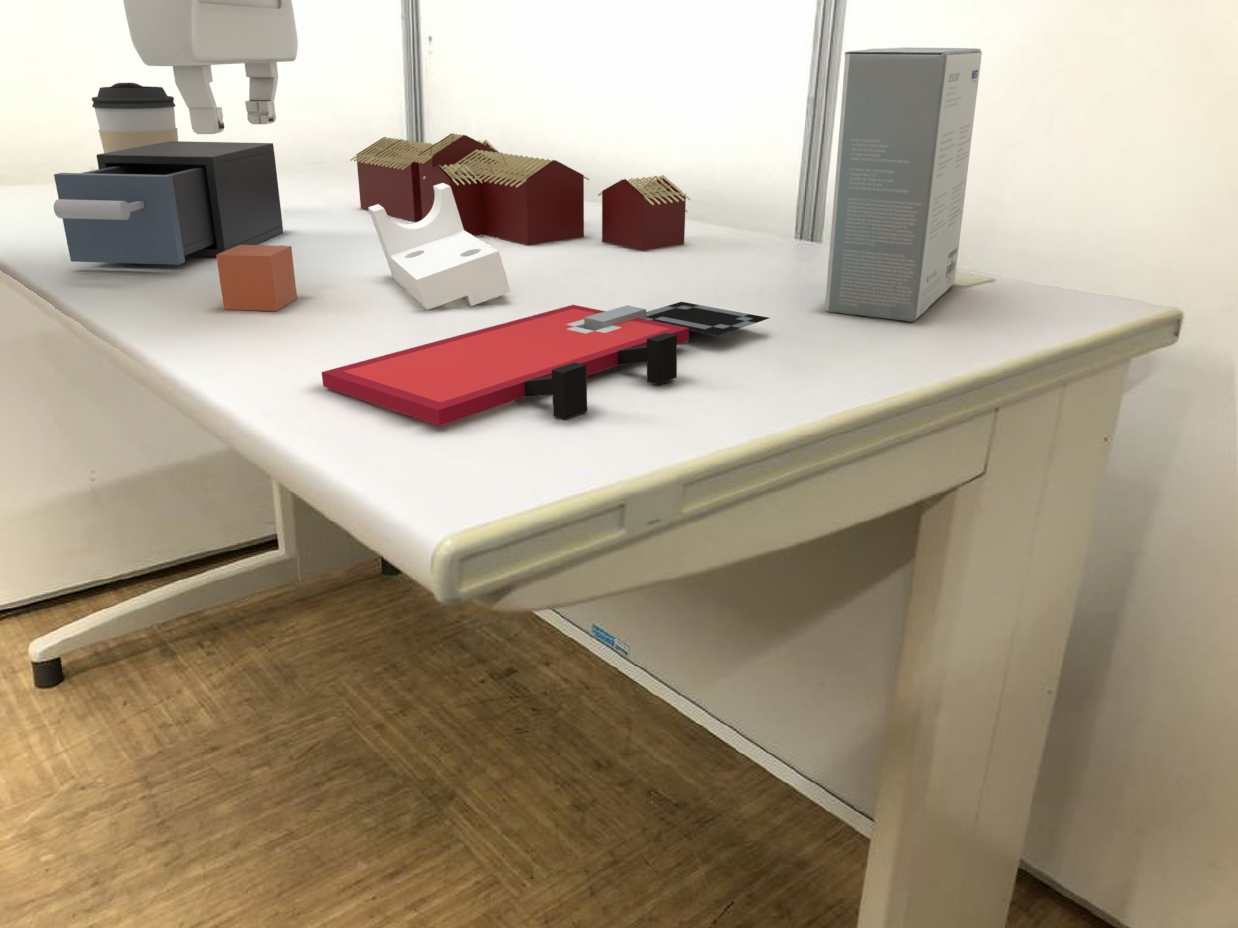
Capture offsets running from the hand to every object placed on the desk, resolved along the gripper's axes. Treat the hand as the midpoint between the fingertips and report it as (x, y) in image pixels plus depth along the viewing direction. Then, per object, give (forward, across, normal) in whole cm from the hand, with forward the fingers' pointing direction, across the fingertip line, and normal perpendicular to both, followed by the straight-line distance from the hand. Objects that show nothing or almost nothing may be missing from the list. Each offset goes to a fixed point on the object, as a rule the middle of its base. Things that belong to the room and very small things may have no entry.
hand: (237, 128), depth 78 cm
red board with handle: (+14, +13, +28) cm, 34 cm away
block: (+14, 0, 0) cm, 14 cm away
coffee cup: (+14, -43, -32) cm, 55 cm away
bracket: (+14, -7, +13) cm, 20 cm away
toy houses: (+14, -41, +13) cm, 45 cm away
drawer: (+13, -15, -17) cm, 26 cm away
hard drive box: (+14, -9, +52) cm, 55 cm away
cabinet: (+14, -25, -17) cm, 33 cm away
